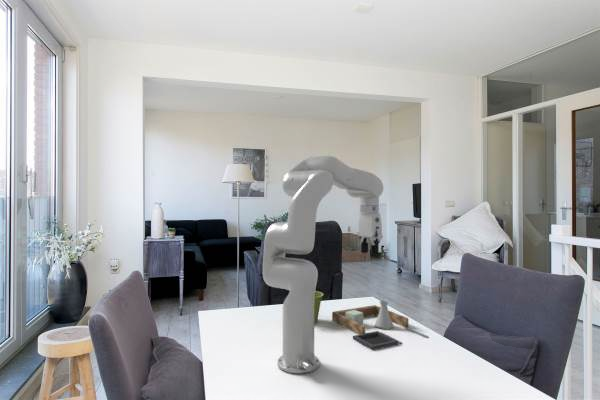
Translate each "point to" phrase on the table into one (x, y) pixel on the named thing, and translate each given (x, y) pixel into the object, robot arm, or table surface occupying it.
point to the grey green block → (355, 316)
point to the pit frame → (375, 340)
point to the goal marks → (411, 331)
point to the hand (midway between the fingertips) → (369, 253)
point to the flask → (383, 317)
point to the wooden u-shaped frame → (367, 311)
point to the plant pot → (317, 305)
